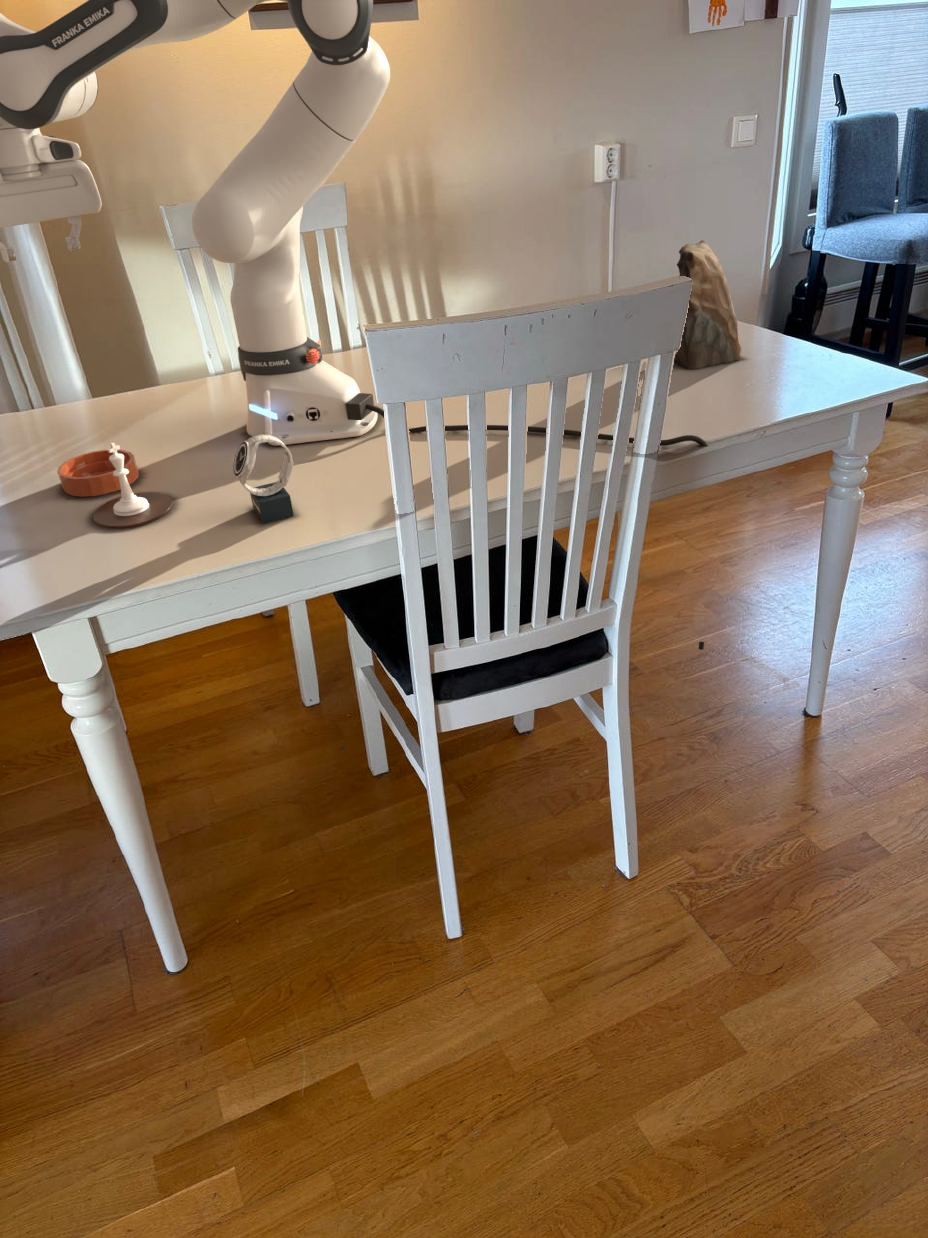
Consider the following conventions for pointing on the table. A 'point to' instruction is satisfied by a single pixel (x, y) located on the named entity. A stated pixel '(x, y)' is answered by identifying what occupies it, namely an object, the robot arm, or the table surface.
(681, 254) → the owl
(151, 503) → the coaster
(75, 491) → the dish
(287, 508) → the watch
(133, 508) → the chess piece
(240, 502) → the table surface
